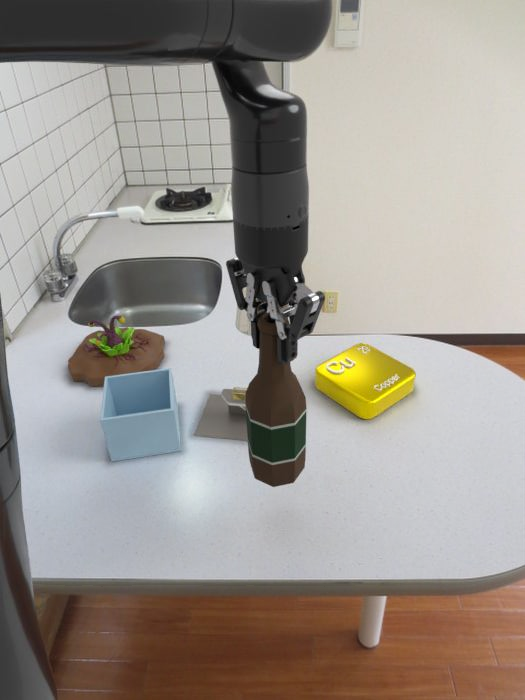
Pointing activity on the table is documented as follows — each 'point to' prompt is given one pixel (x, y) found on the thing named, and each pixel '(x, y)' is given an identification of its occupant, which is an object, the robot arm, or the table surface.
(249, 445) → the beer bottle
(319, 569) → the table surface
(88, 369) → the plant
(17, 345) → the table surface
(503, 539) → the table surface
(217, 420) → the platform
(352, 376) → the element tile
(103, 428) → the case
